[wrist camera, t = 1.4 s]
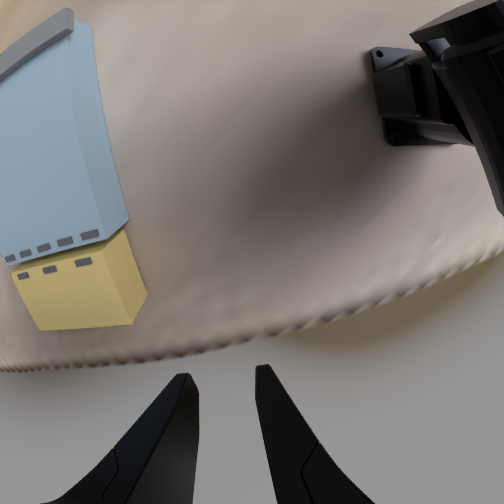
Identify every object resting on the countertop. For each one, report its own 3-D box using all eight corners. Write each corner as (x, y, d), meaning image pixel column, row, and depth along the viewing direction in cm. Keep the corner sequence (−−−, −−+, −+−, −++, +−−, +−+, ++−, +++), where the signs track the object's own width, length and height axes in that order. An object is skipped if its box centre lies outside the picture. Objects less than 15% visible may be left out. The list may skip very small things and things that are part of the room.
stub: (124, 229, 18) (100, 251, 14) (147, 294, 20) (131, 325, 16) (35, 253, 18) (9, 274, 15) (59, 306, 20) (38, 331, 17)
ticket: (99, 23, 12) (66, 4, 8) (137, 217, 17) (110, 242, 14) (-8, 92, 13) (-43, 94, 9) (27, 248, 18) (-4, 272, 14)
